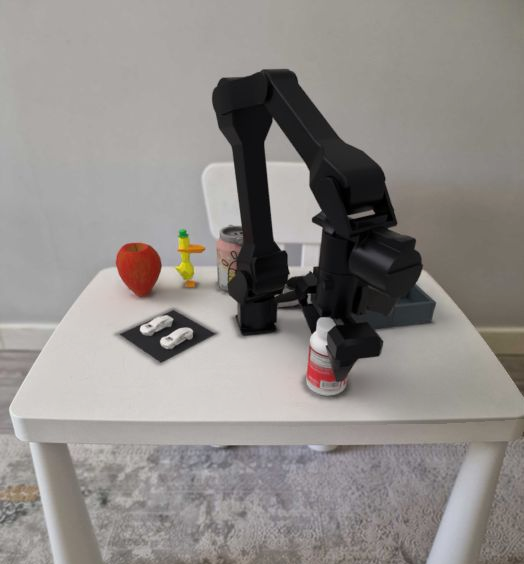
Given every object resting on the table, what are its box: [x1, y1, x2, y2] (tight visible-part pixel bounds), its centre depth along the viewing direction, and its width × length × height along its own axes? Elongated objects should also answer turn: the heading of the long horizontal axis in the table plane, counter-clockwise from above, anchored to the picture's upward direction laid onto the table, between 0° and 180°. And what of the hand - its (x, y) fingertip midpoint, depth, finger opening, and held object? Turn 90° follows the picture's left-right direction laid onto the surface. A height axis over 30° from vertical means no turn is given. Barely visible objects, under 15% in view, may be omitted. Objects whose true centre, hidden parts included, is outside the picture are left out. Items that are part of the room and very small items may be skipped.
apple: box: [115, 242, 163, 297], centre depth 90 cm, size 9×8×11 cm
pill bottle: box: [306, 317, 349, 396], centre depth 67 cm, size 6×6×11 cm
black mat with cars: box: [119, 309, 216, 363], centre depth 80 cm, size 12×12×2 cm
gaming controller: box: [275, 270, 314, 308], centre depth 91 cm, size 11×4×7 cm
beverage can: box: [215, 224, 243, 293], centre depth 93 cm, size 9×8×12 cm
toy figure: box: [173, 228, 206, 288], centre depth 93 cm, size 7×4×12 cm, turn 89°
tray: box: [352, 283, 437, 330], centre depth 90 cm, size 17×17×4 cm
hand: (328, 362), depth 68 cm, fingers open, 9 cm apart
